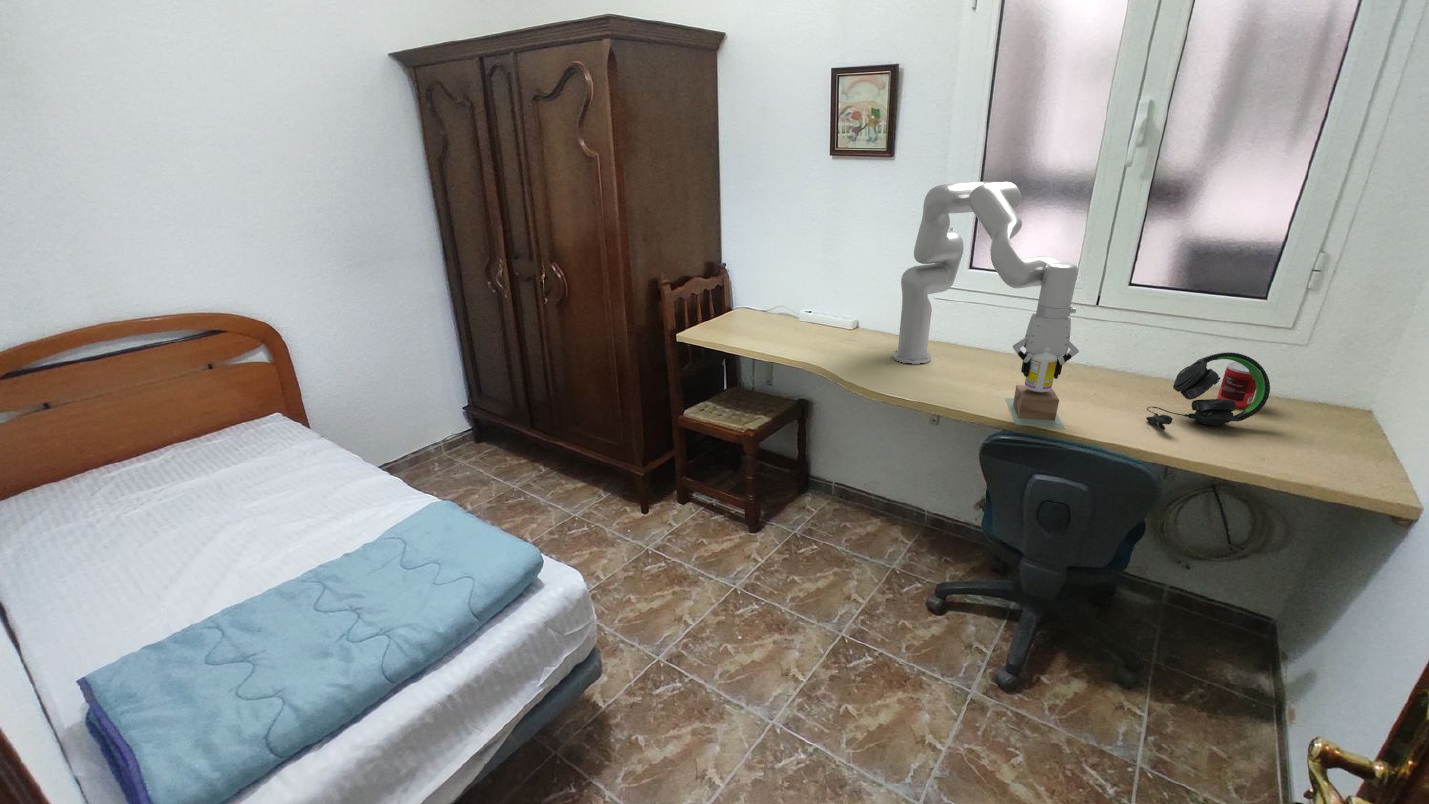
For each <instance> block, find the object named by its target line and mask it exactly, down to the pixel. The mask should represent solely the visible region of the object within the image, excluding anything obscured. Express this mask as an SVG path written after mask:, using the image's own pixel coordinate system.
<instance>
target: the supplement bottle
mask: <svg viewBox="0 0 1429 804" xmlns="http://www.w3.org/2000/svg"><path fill="white" fill-rule="evenodd" d="M1044 350H1045V351H1049V350H1051V349H1050V347H1046V348H1045V349H1044ZM1057 359H1058V357H1057V355H1052V354H1049V352H1045V353H1043V354H1034V355H1033V356H1032V357H1031V359H1030V360H1029V362H1030V368H1029V373H1028V376H1027V377H1025V381H1024V385H1025V387H1026V388H1027V389H1029V390H1031V391H1035V392H1048V391H1050V390H1051V388H1052V389H1053V384H1054V379H1055V378H1054V374H1055V369H1056V364H1057Z"/></svg>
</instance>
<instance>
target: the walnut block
mask: <svg viewBox="0 0 1429 804" xmlns="http://www.w3.org/2000/svg"><path fill="white" fill-rule="evenodd" d="M1059 403H1060V399H1059V397H1058V395H1057V394H1056V392H1055V390H1054V389H1053V387H1052V388H1051V390H1050V391H1048V392H1035V391H1031V390H1029V389H1027V388H1026V387H1025V384H1022V385H1021V384H1016V387H1015V391H1014V402H1013V406H1014V408H1015V410H1016V413H1017V415H1018V417H1019V418H1027V419H1040V420H1054V421H1055V418H1056V413H1057V412H1058V407H1059ZM1057 414H1058V413H1057Z"/></svg>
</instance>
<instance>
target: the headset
mask: <svg viewBox="0 0 1429 804" xmlns="http://www.w3.org/2000/svg"><path fill="white" fill-rule="evenodd" d="M1218 360H1230V361H1233V362H1238V363H1240V364H1242V365H1244V366H1245V367H1246V368H1247V369H1248V370H1249V372H1250V374H1251V375H1252V377H1253V379H1254V380H1255V382H1256V391H1255V394H1254V397H1253V400H1252V402H1251V405H1250V406H1249V407H1248V408H1245V409H1243V410H1242V411H1241V412H1239V413H1237V414H1235V415H1234V411H1236V410H1237V409H1236V403H1235V401H1233V400H1226V399H1217V398H1215V399H1214V398H1213V399H1212V398H1209V399H1208V398H1207V399H1198V398H1199V397H1200V396H1201V395H1204V394H1205V393H1206V392H1208V391H1209V390H1210V389H1211V388H1212V387H1213V386H1216V384H1218V383H1219V381H1220V380H1221V377H1219V374H1218V373H1217V372H1216V371H1214V370H1213V369H1212V368H1209V369H1208V368H1207V366H1208V363H1209V362H1213V361H1218ZM1172 388H1173V390H1175V391H1176V392H1178V393H1180V394H1181V395H1182V397H1184V399H1186V400H1193V401H1191V410H1192V411H1195V412H1194V413H1187V414H1185V413H1184V414H1183V413H1182V414H1181V413H1177V412H1172V411H1169V410H1167V409H1164V408H1161V407H1157V406H1148V407H1147V408H1146V410H1147V411H1148V412H1149V413H1151V414H1153V416H1147V417H1145V418H1146V420H1147V421H1148V423H1149V424H1151V425H1152V426H1153V425H1154V426H1155V425H1156V424H1157V426H1158V427H1159V429H1160V430H1163V431H1165V430H1166V426H1165V425H1171V424H1172V422H1173V421H1174V418H1172V417H1171V416H1170V415H1167V414H1163V413H1162V414H1160V415H1159V413H1157V412H1153V411H1151V410H1149V409H1150V408H1152V409H1153V408H1154V409H1158V410H1161V411H1163V412H1166V413H1169V414H1173V415H1177V416H1181V417H1186V418H1189V419H1193V420H1195V421H1197V422H1198V423H1201V424H1202V425H1205V426H1223V425H1225V424H1227V423H1230V422H1242V421H1245V420H1247V419H1248V418H1250V417H1252V416H1254V415H1256V414H1257V413H1258V412H1259V411H1260V410H1261V409H1262V408H1263V407H1264V406H1265V405H1266V403H1267V401H1268V399H1269V397H1270V393H1271V383H1270V379H1269V376H1268V373H1267V372H1266V370H1265V369H1264V367H1263V366H1262V365H1261V364H1260V363H1259V362H1258V361H1256V360H1255V359H1253V358H1252V357H1250V356H1248V355H1245V354H1242V353H1238V352H1219V353H1215V354H1211V355H1207V356H1205V357H1201V358H1199V359H1198V360H1196V361H1195V362H1194V363H1192V364H1190V365H1188V366H1186V367H1184V368H1183V369H1182V370H1180V371H1179V372H1178V374H1177V375H1176V378H1175V380H1174V383H1173V385H1172ZM1196 398H1197V399H1196Z"/></svg>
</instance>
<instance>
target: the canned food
mask: <svg viewBox="0 0 1429 804" xmlns="http://www.w3.org/2000/svg"><path fill="white" fill-rule="evenodd" d="M1255 394H1256V382H1255V380H1254V379H1253V377H1252V375H1251V374H1250V372H1249V370H1248V369H1247V368H1246V367H1245V366H1244V365H1242V364H1240V363H1238V362H1236V361H1233V362H1229V363H1228V364H1227V366H1226V368H1225V371H1224V374H1223V378H1222V381H1221V384H1220V387H1219V390H1218V393H1217V397H1216V399H1226V400H1233V401H1235V403H1236V408H1235V409H1236V410H1238V409H1239V410H1240V409H1241V410H1245V409H1247V408H1248V407H1249V406H1250V405H1251V403H1252V402H1253V400H1254V398H1255Z"/></svg>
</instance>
